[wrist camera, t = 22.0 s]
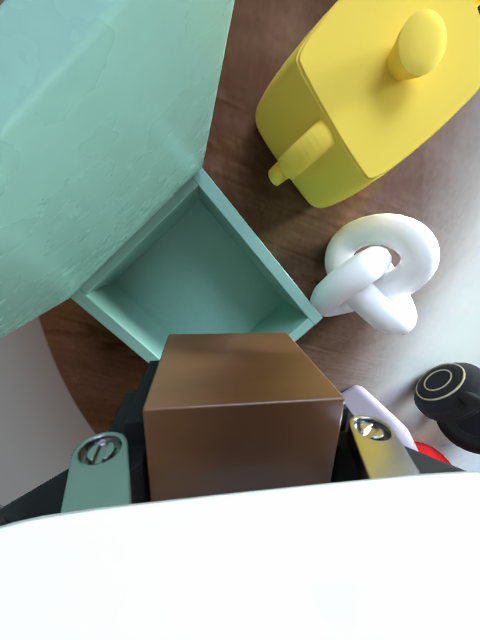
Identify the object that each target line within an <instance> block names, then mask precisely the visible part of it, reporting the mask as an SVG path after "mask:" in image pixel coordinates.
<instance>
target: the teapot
mask: <svg viewBox="0 0 480 640" xmlns="http://www.w3.org/2000/svg"><path fill="white" fill-rule="evenodd" d="M479 5H480V0H338V1H337V2H336V3H335V4H334V5H333V6H332V7H331V8H330V9H329V10H328V12H327V13H326V14H325V15H324V16H323V17H322V18H321V19H320V20H319V22H318V23H317V24H316V25H315V26H314V27H313V28H312V30H311V31H310V32H309V33H308V34H307V35H306V37H305V38H304V39H303V40H302V41H301V43H300V44H299V45H298V46H297V48H296V49H295V50H294V51H293V53H292V54H291V55H290V56H289V58H288V59H287V60H286V61H285V63H284V64H283V66H282V67H281V68H280V70H279V71H278V72H277V74H276V75H275V77H274V78H273V79H272V81H271V82H270V84H269V86H268V87H267V89H266V91H265V93H264V94H263V96H262V98H261V100H260V102H259V104H258V106H257V109H256V114H255V118H256V125H257V128H258V130H259V132H260V134H261V136H262V137H263V139H264V141H265V143H266V144H267V146H268V147H269V149H270V150H271V152H272V153H273V155H274V156H275V158H276V159H277V161H278V162H277V163H276V164H275V165H274V166H273V167H272V168H271V169H270V170H269V171H268V176H269V179H270V181H271V182H272V183H273V184H274V185H276V186H278V185H280V184H281V183H282V182H284V181H285V180H287V179H288V178H289V179H290V180H291V181H292V182H293V184H294V185H295V186H296V188H297V189H298V190H299V192H300V193H301V194H302V196H303V197H304V198H305V199H306V200H307V202H308V203H310V204H311V205H312V206H314V207H316V208H326V207H329V206H332V205H334V204H336V203H338V202H341V201H343V200H345V199H347V198H348V197H350V196H352V195H354V194H355V193H357V192H359V191H360V190H362V189H363V188H365V187H366V186H368V185H369V184H371V183H372V182H374V181H375V180H376V179H378V178H379V177H381V176H382V175H384V174H385V173H386V172H388V171H389V170H390V169H392V168H393V167H394V166H396V165H397V164H398V163H400V162H401V161H402V160H403V159H404V158H406V157H407V156H408V155H409V154H411V153H412V152H413V151H414V150H416V149H417V148H418V147H419V146H420V145H422V144H423V143H424V142H425V141H426V140H427V139H429V138H430V137H431V136H432V135H433V134H434V133H435V132H436V131H437V130H439V129H440V128H441V127H442V126H443V125H444V124H445V123H446V122H447V121H448V120H449V119H450V118H451V117H452V116H453V115H454V114H455V113H456V112H457V111H458V110H459V109H460V108H461V107H462V106H463V105H464V104H465V103H466V102H467V101H468V100H469V99H470V98H471V97H472V96H473V95H474V94H475V93H476V92H477V90H478V89H479V88H480V15H479V12H478V9H477V7H478V6H479Z"/></svg>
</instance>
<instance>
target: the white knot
mask: <svg viewBox="0 0 480 640" xmlns="http://www.w3.org/2000/svg"><path fill="white" fill-rule="evenodd" d="M369 245H381V246H386V247H389V248H391V249H393V250H395V251H396V252H397V253H398V254H399V255H400V257H401V260H400V262H399V264H398V265H397V266H396V267H395V268H394V266H393V265H392V263H391V255H390V253H389V252H388V250H387V249H385V248H383V247H380V246H374V247H369V248H367V249H366V250H363V251H361V252H359V253H357V254H356V255H354V253H355V252H356V251H357V250H358V249H359V248H361V247H364V246H369ZM353 255H354V256H353ZM439 259H440V250H439V246H438V242H437V240H436V238H435V236H434V235H433V233H432V232H431V231H430V230H429V229H428V228H427V227H426V226H425V225H424V224H422V223H420V222H418V221H417V220H415V219H413V218H410V217H406V216H403V215H398V214H388V213H387V214H374V215H370V216H366V217H361V218H359V219H356V220H354V221H351V222H349V223H348V224H346V225H345V226H343V227H342V228H341V229H340V230H338V231H337V232H336V233H335V235H334V236H333V237H332V238H331V240H330V242H329V244H328V246H327V249H326V253H325V269H326V272H327V276H326V277H325V278H324V279H323V280H322V281H321V282H320V283H319V284H318V285H317V286H316V287H315V289H314V290H313V293H312V295H311V298H310V303H311V304H312V305H313V307H314V308H315V309H316V310H317V312H318V313H319V314H320V315H321V316H324V317H330V316H336V315H341V314H345V313H349V312H353V311H355V312H356V313H357V314H358V315H359V316H360V317H361V318H363V319H364V320H365V321H366V322H367V323H369V324H370V325H371V326H372V327H374V328H375V329H377V330H378V331H380V332H382V333H385V334H387V335H390V336H399V335H404V334H407V333H408V332H409V331H411V330H412V329H413V328H414V327H415V324H416V320H417V312H416V308H415V305H414V303H413V301H412V298H411V296H410V294H412V293H414V292H415V291H417V290H418V289H420V288H421V287H422V286H423V285H424V284H425V283H426V282H427V281H429V279H430V278H431V277H432V276H433V274H434V273H435V271H436V269H437V267H438V263H439Z"/></svg>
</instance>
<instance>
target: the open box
mask: <svg viewBox="0 0 480 640" xmlns="http://www.w3.org/2000/svg"><path fill="white" fill-rule="evenodd" d="M70 298H71V299H73V300H74V301H75V302H76V303H77V304H79V305H80V306H81V307H82V308H83V309H85V310H86V311H87V312H88V313H89V314H90V315H92V316H93V317H94V318H95V319H96V320H98V321H99V322H100V323H101V324H102V325H104V326H105V327H106V328H107V329H108V330H110V331H111V332H112V333H113V334H114V335H115V336H117V337H118V338H119V339H120V340H121V341H123V342H124V343H125V344H126V345H127V346H129V347H130V348H131V349H132V350H133V351H135V352H136V353H137V354H138V355H139V356H140V357H142V358H143V359H144V360H145V361H146V362H148V363H149V362H150V361H155V360H160V358H161V355H162V352H163V349H164V346H165V343H166V340H167V338H168V335H170V334H221V333H276V332H286V333H287V334H288V335H289V336H290V337H291V338H292V339H293V341H294V342H295V341H296V340H298V339H299V338H300V337H301V336H302V335H303V334H305V333H306V332H307V331H308V330H309V329H310V328H312V327H313V326H314V325H315V324H316V323H318V322H319V321H320V320H321V319H322V317H321V315H320V314H319V313H318V312H317V310H316V309H315V308H314V307H313V305H312V304H311V303H310V302H309V300H308V299H307V298H306V297H305V295H304V294H303V293H302V292H301V290H300V289H299V288H298V287H297V285H296V284H295V283H294V282H293V280H292V279H291V278H290V277H289V275H288V274H287V273H286V272H285V270H284V269H283V268H282V267H281V265H280V264H279V263H278V262H277V260H276V259H275V258H274V257H273V255H272V254H271V253H270V252H269V250H268V249H267V248H266V247H265V245H264V244H263V243H262V242H261V241H260V239H259V238H258V237H257V236H256V234H255V233H254V232H253V231H252V229H251V228H250V227H249V226H248V224H247V223H246V222H245V221H244V219H243V218H242V217H241V216H240V214H239V213H238V212H237V211H236V209H235V208H234V207H233V206H232V204H231V203H230V202H229V201H228V199H227V198H226V197H225V196H224V194H223V193H222V192H221V191H220V189H219V188H218V187H217V186H216V184H215V183H214V182H213V181H212V179H211V178H210V177H209V176H208V174H207V173H206V172H205V171H204V169H203V168H201V169H200V170H199V171H198V172H197V173H196V174H195V175H194V176H193V177H192V178H191V179H190V180H189V181H188V182H187V183H186V184H185V185H184V186H183V187H182V188H181V189H180V190H179V191H178V192H177V193H176V194H175V195H174V196H173V197H172V198H171V199H170V200H168V201H167V202H166V203H165V204H164V205H163V206H162V207H161V208H160V209H159V210H158V211H157V212H156V213H155V214H154V215H153V216H152V217H151V218H150V219H149V220H148V221H147V222H146V223H145V224H144V225H143V226H142V227H141V228H140V229H139V230H138V231H137V232H136V233H135V234H134V235H133V236H132V237H131V238H130V239H129V240H128V241H127V242H126V243H125V244H124V245H123V246H122V247H121V248H120V249H119V250H118V251H116V252H115V253H114V254H113V255H112V256H111V257H110V258H109V259H108V260H107V261H106V262H105V263H104V264H103V265H102V266H101V267H100V268H99V269H98V270H97V271H96V272H95V273H94V274H93V275H92V276H91V277H90V278H89V279H88V280H87V281H86V282H85V283H84V284H83V285H82V286H81V287H80V288H79V289H78V290H77V291H76V292H75V293H74V294H73V295H72V296H71V297H70Z"/></svg>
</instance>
